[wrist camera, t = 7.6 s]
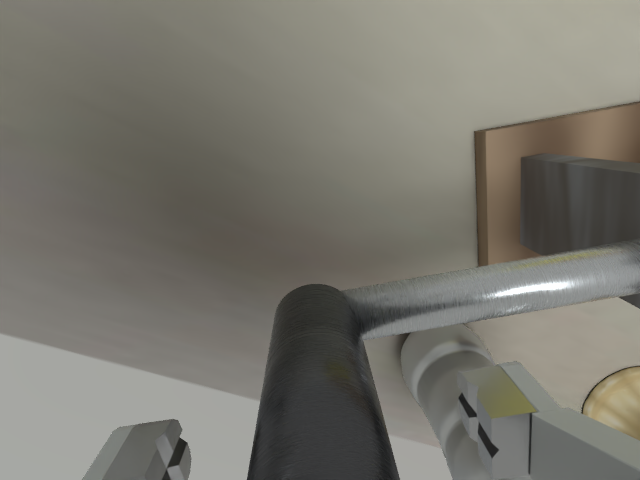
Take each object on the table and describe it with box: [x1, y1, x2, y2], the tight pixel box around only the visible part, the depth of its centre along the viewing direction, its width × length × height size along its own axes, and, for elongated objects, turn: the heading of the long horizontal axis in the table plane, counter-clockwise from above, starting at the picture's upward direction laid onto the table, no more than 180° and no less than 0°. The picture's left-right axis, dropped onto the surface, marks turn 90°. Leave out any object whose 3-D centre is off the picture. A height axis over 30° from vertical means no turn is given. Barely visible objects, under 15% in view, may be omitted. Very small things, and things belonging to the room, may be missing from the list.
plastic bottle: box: [401, 324, 533, 480], centre depth 19 cm, size 6×7×20 cm
